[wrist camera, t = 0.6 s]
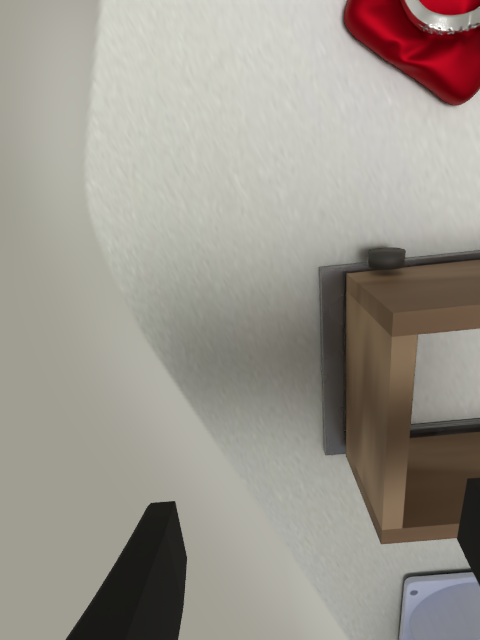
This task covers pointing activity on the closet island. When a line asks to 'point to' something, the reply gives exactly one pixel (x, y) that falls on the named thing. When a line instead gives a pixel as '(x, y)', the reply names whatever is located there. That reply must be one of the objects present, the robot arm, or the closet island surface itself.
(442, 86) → the engagement ring
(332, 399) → the frame
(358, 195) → the closet island surface
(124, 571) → the robot arm
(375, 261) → the cart
